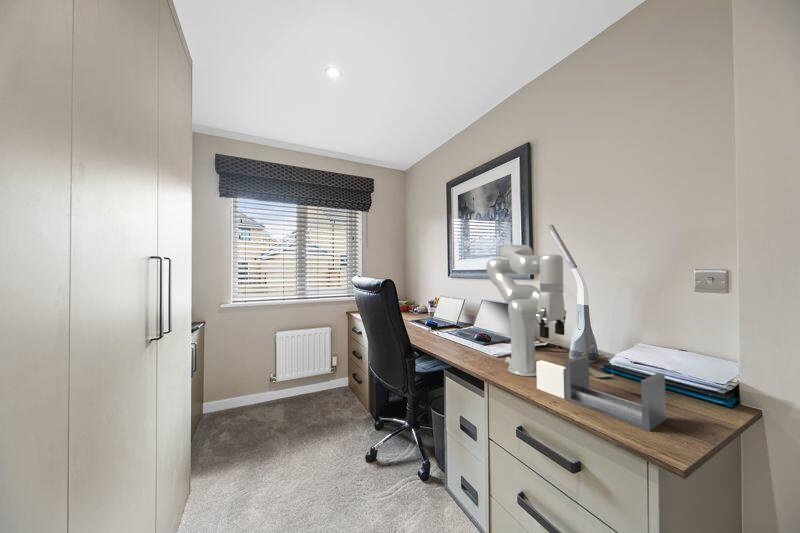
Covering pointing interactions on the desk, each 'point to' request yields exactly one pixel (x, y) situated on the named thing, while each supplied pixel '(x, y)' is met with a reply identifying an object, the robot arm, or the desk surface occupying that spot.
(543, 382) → the door
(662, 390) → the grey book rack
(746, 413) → the desk surface
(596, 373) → the jawbone
